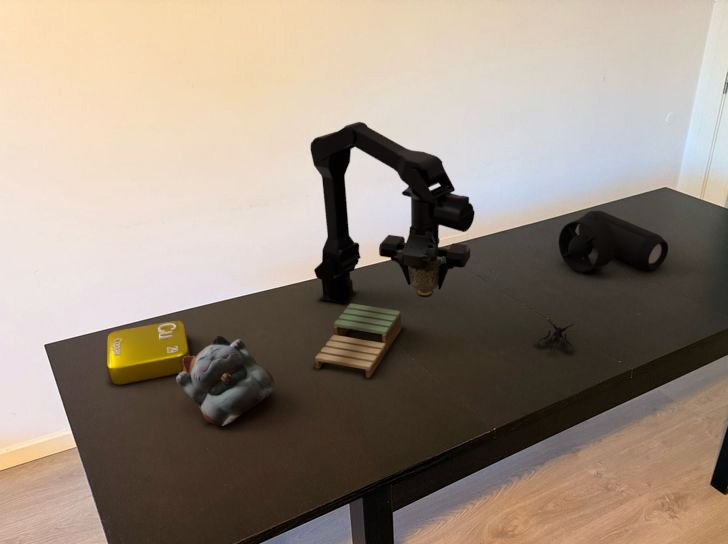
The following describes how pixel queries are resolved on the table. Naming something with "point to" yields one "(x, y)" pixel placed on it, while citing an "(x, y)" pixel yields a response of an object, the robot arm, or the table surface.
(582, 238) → the black round hollow piece
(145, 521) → the table surface
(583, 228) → the portable speaker
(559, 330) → the creature
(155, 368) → the element tile
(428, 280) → the ornate brown dome cover
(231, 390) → the lucky cat figurine
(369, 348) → the rack
